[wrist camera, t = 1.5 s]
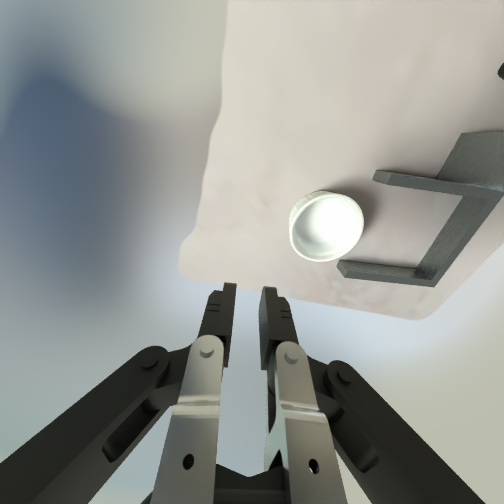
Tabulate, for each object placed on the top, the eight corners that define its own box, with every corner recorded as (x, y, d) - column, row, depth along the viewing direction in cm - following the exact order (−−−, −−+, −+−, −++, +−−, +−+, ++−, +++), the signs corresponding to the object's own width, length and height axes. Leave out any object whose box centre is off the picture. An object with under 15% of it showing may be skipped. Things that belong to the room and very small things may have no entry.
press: (396, 122, 22) (785, 63, 6) (510, 141, 23) (1105, 135, 7) (336, 266, 31) (425, 392, 15) (419, 275, 32) (582, 402, 16)
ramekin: (278, 242, 29) (282, 257, 25) (294, 181, 25) (302, 187, 21) (334, 250, 30) (346, 266, 26) (359, 192, 25) (378, 201, 22)
